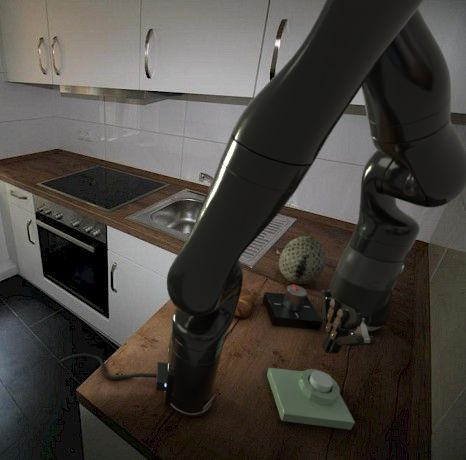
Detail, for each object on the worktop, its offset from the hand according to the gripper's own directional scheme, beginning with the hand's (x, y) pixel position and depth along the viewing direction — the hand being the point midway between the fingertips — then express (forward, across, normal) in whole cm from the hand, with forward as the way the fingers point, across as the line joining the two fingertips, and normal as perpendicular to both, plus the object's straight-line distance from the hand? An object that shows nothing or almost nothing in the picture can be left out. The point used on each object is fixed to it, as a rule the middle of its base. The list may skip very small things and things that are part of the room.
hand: (328, 349), depth 58 cm
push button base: (+12, -2, +2) cm, 12 cm away
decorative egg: (+12, +38, -12) cm, 42 cm away
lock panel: (+12, +22, -4) cm, 26 cm away
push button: (+8, -1, 0) cm, 8 cm away
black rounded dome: (+12, +21, -20) cm, 31 cm away
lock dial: (+9, +23, -4) cm, 25 cm away
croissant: (+12, +25, +10) cm, 30 cm away
